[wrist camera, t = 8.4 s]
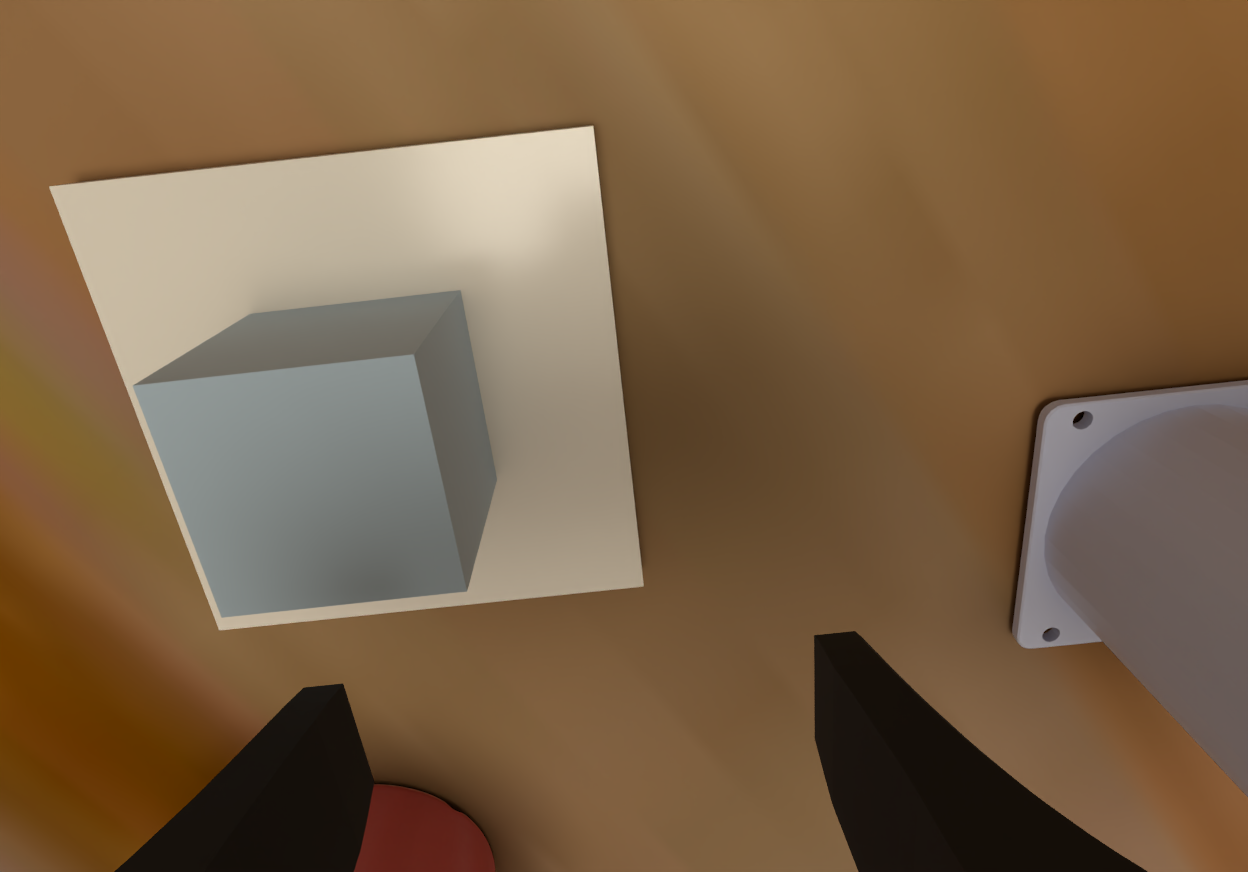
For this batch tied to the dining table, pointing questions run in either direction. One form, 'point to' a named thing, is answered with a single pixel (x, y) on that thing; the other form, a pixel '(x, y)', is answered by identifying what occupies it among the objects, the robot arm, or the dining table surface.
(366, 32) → the dining table surface
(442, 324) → the grey cube
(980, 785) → the robot arm
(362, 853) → the flower pot
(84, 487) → the dining table surface
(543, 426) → the cream tile
